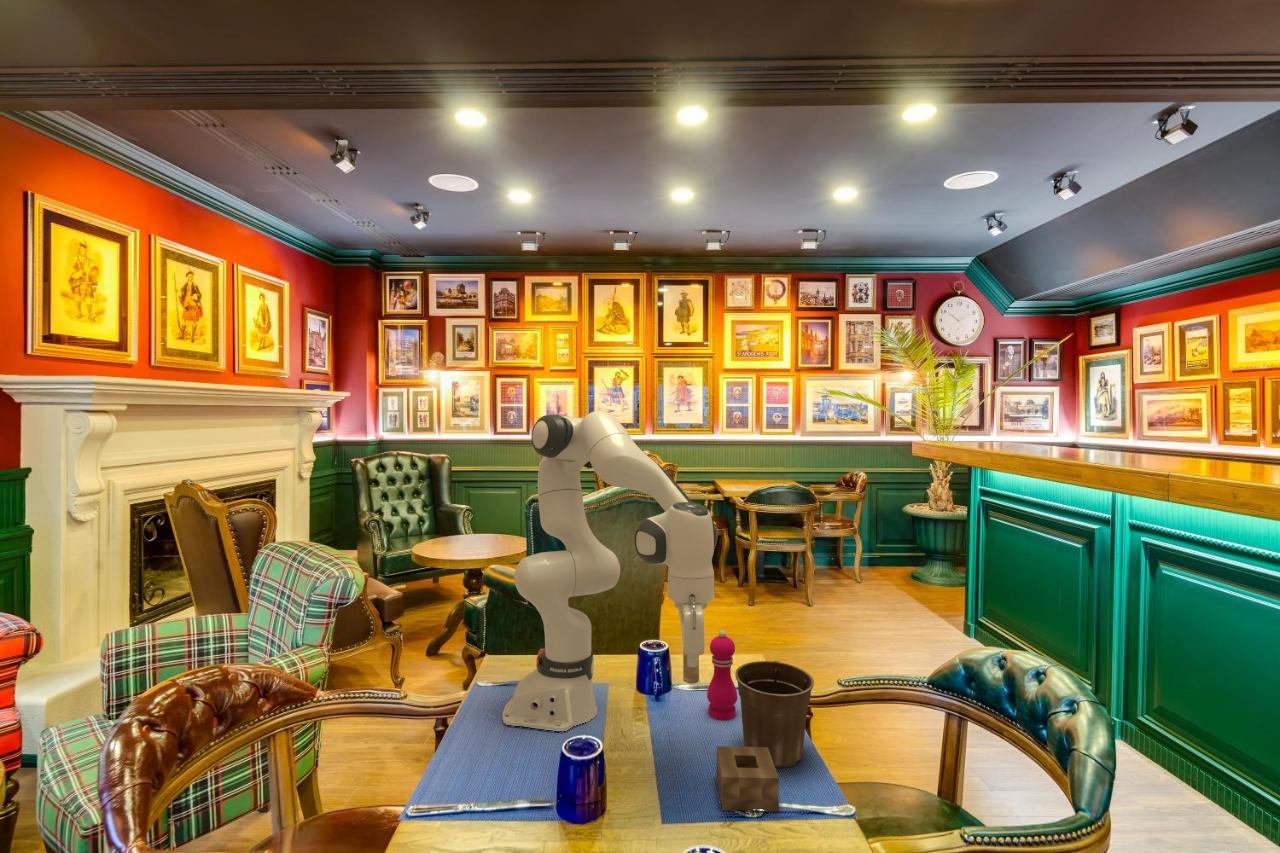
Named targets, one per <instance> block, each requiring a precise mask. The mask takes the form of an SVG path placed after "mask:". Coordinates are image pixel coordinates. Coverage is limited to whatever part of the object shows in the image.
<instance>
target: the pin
mask: <svg viewBox="0 0 1280 853" xmlns="http://www.w3.org/2000/svg"><path fill="white" fill-rule="evenodd" d="M695 629H696V628H695ZM682 649H683V648H682ZM682 653H683V654H682V656H683V657H682V659H683V660H682V661H683V663H682V664H683V665H682V674H683V675H682V678H683V679H682V680H683V682H685V683H686V684H697V683H699V682H700V655H697V666H696V667H688V665H687V655H686V654H685V653H684V649H683V652H682Z"/></svg>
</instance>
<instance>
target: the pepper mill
mask: <svg viewBox="0 0 1280 853" xmlns="http://www.w3.org/2000/svg"><path fill="white" fill-rule="evenodd" d="M709 651H710V653H711V655H712V656H711V663H712V665H713V675H712V677H711V678H712V679H711V680H710V682H709V684H708V687H707V690H706V698H707V701H708V702H709V704H708V714H709V716H710V717H711V718H713V719H715V720H720V721H728V720H732V719H734V718H735V716H736V706H735V704H736V703H737V701H738V692H737V689H736V688H737V687H736V685H735V683H734V680H733V678H732V674H731V673H732V672H731V668H732V666H733V664H734V658H733V656H734V654H735V652H736V646H735V642H734V641H733V639H731V638H730V637H728V636H727V632H726V631H725V630H723V629H721V630H720V631H719V632H718V635H717V636H715V637H713V639H711V641H710V644H709Z"/></svg>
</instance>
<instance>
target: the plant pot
mask: <svg viewBox="0 0 1280 853" xmlns="http://www.w3.org/2000/svg"><path fill="white" fill-rule="evenodd" d="M775 661H776V660H775ZM775 661H774V660H772V661H771V660H761V661H760V660H758V661H757V660H756V661H751V662H747V663H743V664H741V665H740V666H738V667H737V669H736V670H735V673H734V674H735V680H736V681H737V688H738V696H739V698H740V699H739V700H740V709H741V721H742V722H741V723H742V724H741V725H742V736H743V737H742V738H743V747H768V749H769V752H770V755H771V758H772V760H773V763H774V766H775V768H778V769H781V768H789V767H793V766H795V765H796V764H797V763H798V762H800V761H802V759H803V754H804V742H805V732H806V724H807V715H808V707H809V705H810V701H811V696H812V695H811V694H812V693H811V692H812V690H813V688H814V686H815V680H814V678H813V676H812V675H811V674H810V673H809V672H807V671H806V670H804V669H802V668H800V667H798V666H795V665H793V664H789V663H785V662H781V661H779V662H775Z"/></svg>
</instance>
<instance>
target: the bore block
mask: <svg viewBox="0 0 1280 853" xmlns="http://www.w3.org/2000/svg"><path fill="white" fill-rule="evenodd" d="M779 780H780V778H779V775H778V772H777V769H776V767H775V766H774V763H773V760H772V758H771V755H770V752H769V749H768V747H744V746H723V745H722V746H720V745H719V746H718V745H717V746H716V781H717V787H718V788H717V789H718V792H719V793H718V794H719V799H720V803H721V805H720V806H721V810H722V811H727V812H729V811H730V812H731V811H732V812H739V811H738V810H742V811H741V812H747V811H746V810H753V809H763V810H766V812H767V813H768V811H769V812H770V813H772V812H774V813H775V812H776V813H778V812H779V810H780V808H779V806H780V805H779V803H780V802H779V800H780V799H779V798H780V796H779V792H780V781H779ZM743 810H745V811H743Z"/></svg>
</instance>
